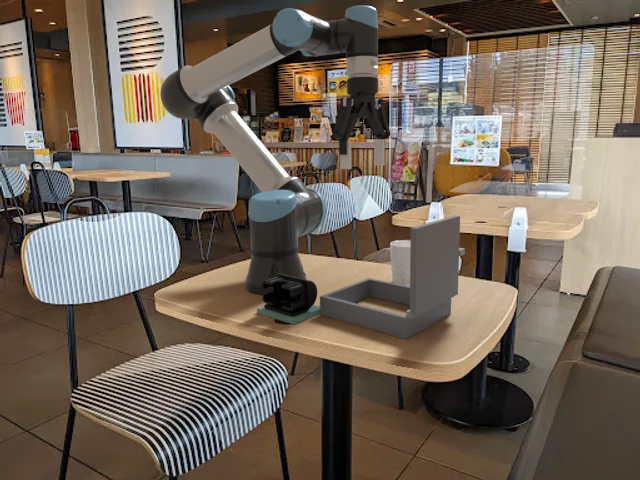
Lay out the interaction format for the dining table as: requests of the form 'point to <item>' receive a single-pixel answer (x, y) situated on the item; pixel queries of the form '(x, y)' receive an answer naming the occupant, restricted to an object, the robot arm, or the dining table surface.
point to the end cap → (289, 294)
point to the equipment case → (421, 294)
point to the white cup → (400, 261)
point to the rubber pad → (292, 320)
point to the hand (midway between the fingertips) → (363, 167)
